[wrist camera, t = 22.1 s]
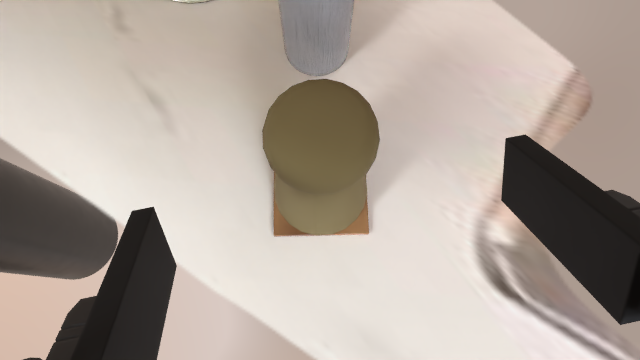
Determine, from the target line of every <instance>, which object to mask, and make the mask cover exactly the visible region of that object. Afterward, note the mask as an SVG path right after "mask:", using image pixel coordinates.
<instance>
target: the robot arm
mask: <svg viewBox="0 0 640 360" xmlns="http://www.w3.org/2000/svg"><path fill="white" fill-rule="evenodd" d="M501 200H502V201H503V202H504V203H505V205H506V206H507V207H508V208H509V209H510V210H511V211H512V212H513V213H514V214H515V215H516V216H517V217H518V218H519V219H520V220H521V221H522V222H523V223H524V224H525V225H526V227H527V228H528V229H529V230H530V231H531V232H532V233H533V234H534V235H535V236H536V237H537V238H538V239H539V240H540V241H541V242H542V243H543V244H544V245H545V246H546V247H547V249H548V250H549V251H550V252H551V253H552V254H553V255H554V256H555V257H556V258H557V259H558V260H559V261H560V262H561V263H562V264H563V265H564V266H565V267H566V268H567V269H568V271H570V272H571V274H572V275H573V276H574V277H575V278H576V279H577V280H578V281H579V282H580V283H581V284H582V285H583V286H584V287H585V288H586V289H587V290H588V291H589V292H590V293H591V295H593V297H594V298H595V299H596V300H597V301H598V302H599V303H600V304H601V305H602V306H603V307H604V308H605V309H606V310H607V311H608V312H609V313H610V314H611V316H612V317H613V318H614V319H615V320H616V321H617V322H618V323H619V324H620V325H622V324H626V323H631V322H636V321H640V203H639V202H637V201H636V200H634V199H632V198H631V197H630V196H627V195H624V194H621V193H619V192H617V191H614V190H609V191H603V190H602V189H600V188H599V187H597V186H596V185H595V184H593V183H592V182H590V181H589V180H588V179H586V178H585V177H584V176H582V175H581V174H579V173H578V172H577V171H575V170H574V169H572V168H571V167H570V166H568V165H567V164H566V163H564V162H563V161H561V160H560V159H558V158H557V157H556V156H554V155H553V154H552V153H550V152H549V151H548V150H546V149H545V148H543V147H542V146H541V145H539V144H538V143H536V142H535V141H534V140H532V139H531V138H530V137H528V136H527V135H520V136H515V137H510V138H506V142H505V156H504V170H503V184H502V198H501ZM175 271H176V263H175V260H174V258H173V255H172V253H171V250H170V248H169V245H168V243H167V240H166V237H165V235H164V232H163V230H162V227H161V225H160V222H159V220H158V217H157V214H156V212H155V209H154V207H150V208H145V209H140V210H135V211H132V212H131V215H130V217H129V220H128V222H127V224H126V227H125V229H124V232H123V234H122V236H121V239H120V241H119V244H118V246H117V248H116V251H115V253H114V256H113V258H112V261H111V263H110V265H109V268H108V270H107V273H106V275H105V277H104V280H103V282H102V284H101V287H100V289H99V292H98V294H97V296H94V297H89V298H84V299H81V300H80V301H79V302H78V303H77V304H76V305H75V306H74V307H73V308H72V310H71V311H70V312H69V313H68V314H67V316H66V318H65V321H64V323H63V325H62V327H61V330H60V331H59V333H58V335H57V337H56V342H55V343H54V344H53V346H52V348H51V350H50V352H49V354H48V357H47V359H46V360H157V355H158V351H159V346H160V341H161V337H162V332H163V327H164V323H165V318H166V313H167V308H168V304H169V299H170V294H171V289H172V285H173V281H174V276H175ZM24 360H42V359H40V358H27V359H24Z"/></svg>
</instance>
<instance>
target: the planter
mask: <svg viewBox="0 0 640 360" xmlns="http://www.w3.org/2000/svg"><path fill="white" fill-rule="evenodd" d="M353 5H354V0H279V8H280V15H281V22H282V30H283V37H284V45H285V50H286V55H287V57H288V60H289V61H290V63H291V64H292V65H293V66H294V67H295V68H296V69H297V70H299V71H300V72H302V73H305V74H308V75H313V76H320V75H326V74H329V73H331V72H333V71H335V70H336V69H338V68H339V67H340V66H341V65H342V64H343V62H344V61H345V59H346V57H347V53H348V49H349V41H350V32H351V23H352V14H353Z"/></svg>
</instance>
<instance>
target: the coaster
mask: <svg viewBox="0 0 640 360" xmlns="http://www.w3.org/2000/svg"><path fill="white" fill-rule="evenodd" d="M365 176H366V175H365ZM274 182H275V172H274ZM361 234H369V226H368V207H367V196H366V201H365V205H364V208H363V210H362V211H361V213H360V214H359V216H358V218H357V219H356V220H355V221H354V222H353V223H352V224H350V225H349V226H348V227H347V228H346V229H344V230H341V231H339V232H336V233H334V234H330V235H361ZM274 236H317V235H312V234H308V233H304V232H301V231H300V230H298V229H296V228H295V227H293V226H292V225H290V224H289V223H288V222H287V221H286V220H285V218H284V217H283V216H282V215H281V213H280V212H279V209H278V207H277V204H276V201H275V195H274Z"/></svg>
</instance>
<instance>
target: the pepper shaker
mask: <svg viewBox="0 0 640 360" xmlns="http://www.w3.org/2000/svg"><path fill="white" fill-rule="evenodd" d="M262 132H263V149H264V151H265V154H266V156H267V159H268V162H269V164H270V167H271V168H272V170H273V171H274V172H275V182H274V195H275V201H276V204H277V207H278V209H279V212H280V213H281V215H282V216H283V217H284V218H285V220H286V221H287V222H288V223H289V224H290V225H292V226H293V227H295V228H296V229H298V230H300V231H301V232H304V233H308V234H312V235H330V234H334V233H336V232H339V231H341V230H344V229H346V228H347V227H348V226H349V225H350V224H352V223H353V222H354V221H355V220H356V219H357V218H358V216H359V214H360V213H361V211H362V210H363V208H364V205H365V201H366V196H367V186H366V176H365V175H366V173H367V172H368V170H369V169H370V167H371V165H372V164H373V162H374V160H375V158H376V154H377V150H378V146H379V141H380V138H379V129H378V122H377V119H376V117H375V115H374V112H373V110H372V108H371V106H370V104H369V103H368V102H367V101H366V100H365V98H364V97H363V96H362V95H361V94H360V93H359V92H358V91H356V90H355V89H353V88H351V87H349V86H347V85H346V84H344V83H341V82H337V81H332V80H328V79H318V80H307V81H305V82H302V83H299V84H296V85H294V86H292V87H290V88H289V89H288V90H286V91H285V92H284V93H282V94H281V95H280V96H278V98H277V99H276V100H275V102H274V103H273V105H272V106H271V108H270V109H269V111H268V114H267V117H266V120H265V124H264V127H263V130H262Z"/></svg>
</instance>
